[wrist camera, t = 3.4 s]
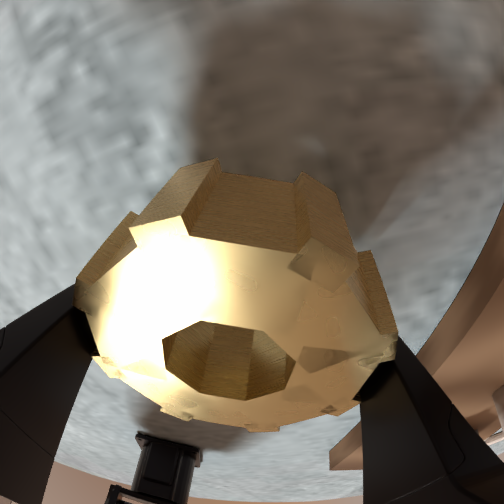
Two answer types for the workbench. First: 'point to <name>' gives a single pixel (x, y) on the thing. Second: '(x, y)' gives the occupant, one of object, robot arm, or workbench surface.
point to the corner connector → (494, 438)
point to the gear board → (462, 352)
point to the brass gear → (238, 301)
